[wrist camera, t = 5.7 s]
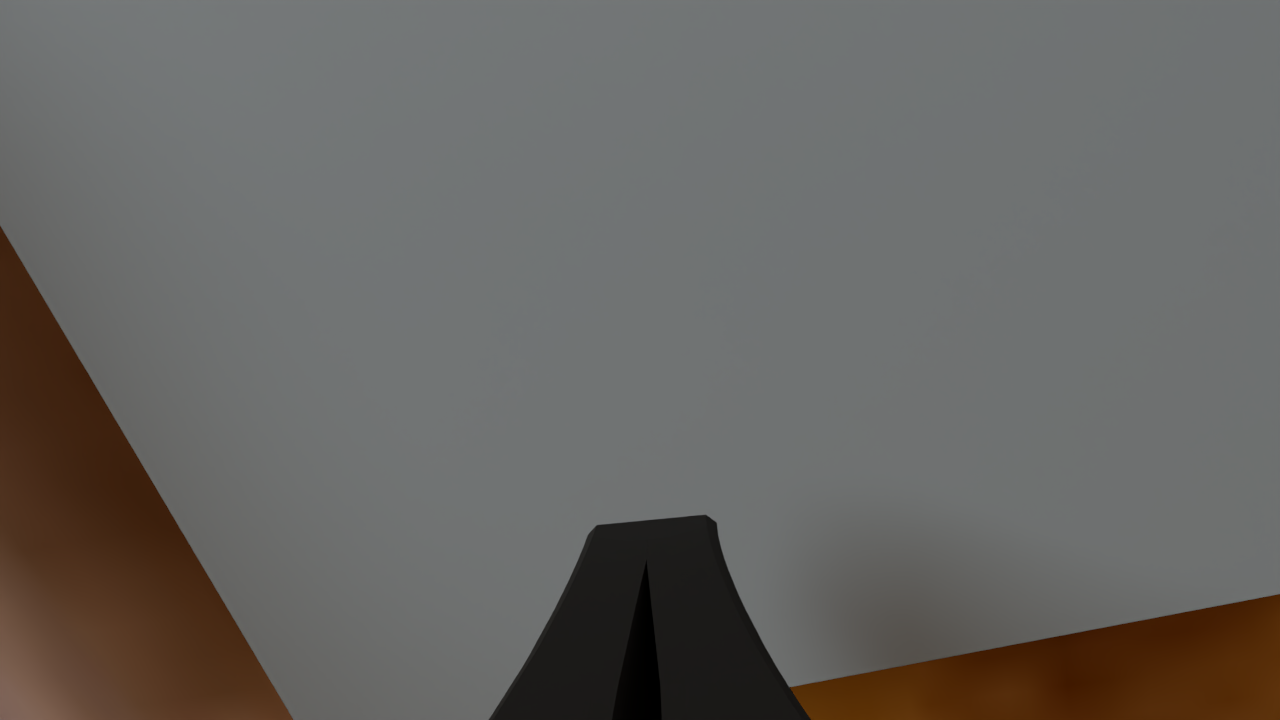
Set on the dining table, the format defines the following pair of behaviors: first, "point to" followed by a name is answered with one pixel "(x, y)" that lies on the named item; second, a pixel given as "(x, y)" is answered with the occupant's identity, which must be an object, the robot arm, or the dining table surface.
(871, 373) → the lid
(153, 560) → the dining table surface
